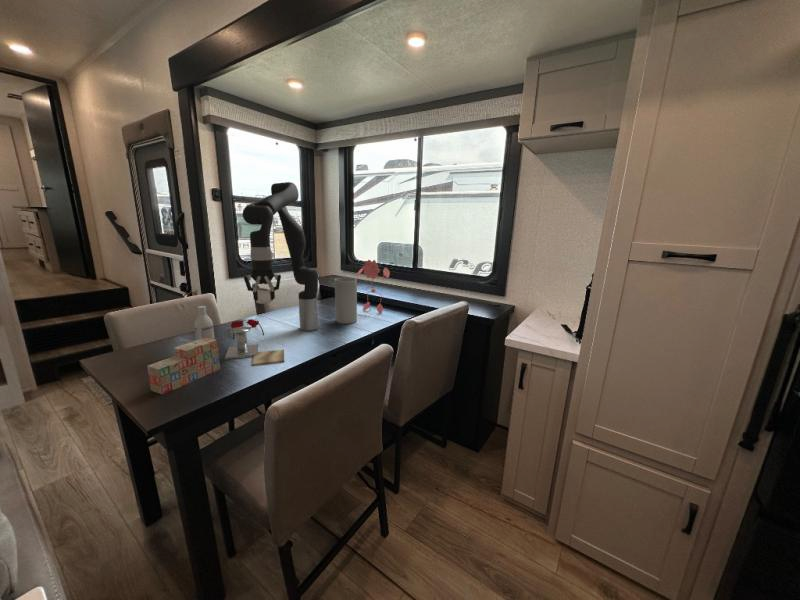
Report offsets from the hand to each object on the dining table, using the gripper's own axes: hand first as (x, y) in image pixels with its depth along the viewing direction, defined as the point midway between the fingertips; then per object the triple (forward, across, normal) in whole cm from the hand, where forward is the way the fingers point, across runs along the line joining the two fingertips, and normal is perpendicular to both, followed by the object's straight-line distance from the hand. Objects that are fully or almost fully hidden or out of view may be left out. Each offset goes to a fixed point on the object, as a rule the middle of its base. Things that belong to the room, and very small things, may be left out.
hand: (264, 300), depth 127 cm
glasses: (+26, +12, -37) cm, 47 cm away
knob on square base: (+25, +11, -9) cm, 29 cm away
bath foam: (+25, +26, -16) cm, 40 cm away
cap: (+1, 0, 0) cm, 1 cm away
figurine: (+25, -59, -55) cm, 85 cm away
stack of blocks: (+26, +26, +12) cm, 39 cm away
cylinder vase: (+25, -41, -43) cm, 65 cm away
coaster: (+25, 0, 0) cm, 25 cm away
